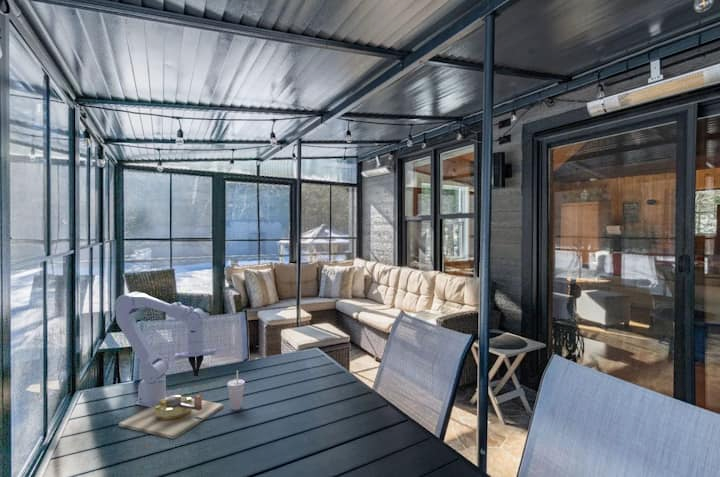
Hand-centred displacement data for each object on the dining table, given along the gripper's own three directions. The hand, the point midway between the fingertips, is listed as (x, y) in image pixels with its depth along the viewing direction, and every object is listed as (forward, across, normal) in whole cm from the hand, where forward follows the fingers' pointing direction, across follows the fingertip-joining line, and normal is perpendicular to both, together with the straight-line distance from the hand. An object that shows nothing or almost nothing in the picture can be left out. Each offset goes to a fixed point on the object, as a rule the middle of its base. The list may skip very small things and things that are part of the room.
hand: (196, 375), depth 151 cm
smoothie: (+11, +13, -12) cm, 21 cm away
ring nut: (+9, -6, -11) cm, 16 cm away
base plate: (+10, -8, -9) cm, 16 cm away
